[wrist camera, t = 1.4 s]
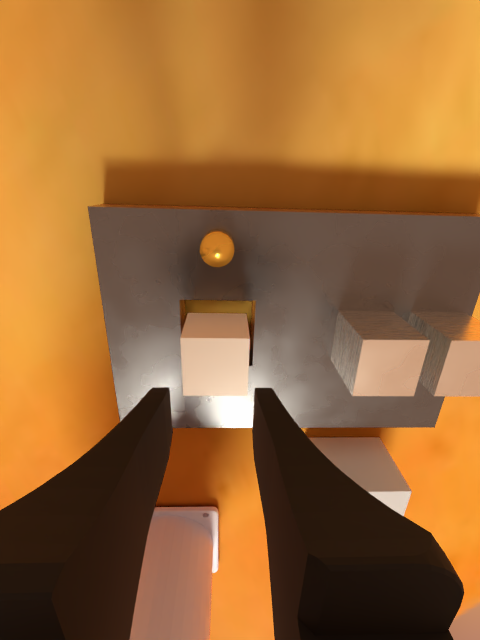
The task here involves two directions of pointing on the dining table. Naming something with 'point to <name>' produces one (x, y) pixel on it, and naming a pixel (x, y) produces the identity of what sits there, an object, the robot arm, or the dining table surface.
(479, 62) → the dining table surface
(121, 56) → the dining table surface
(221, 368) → the button
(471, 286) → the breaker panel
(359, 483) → the cap
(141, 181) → the dining table surface
